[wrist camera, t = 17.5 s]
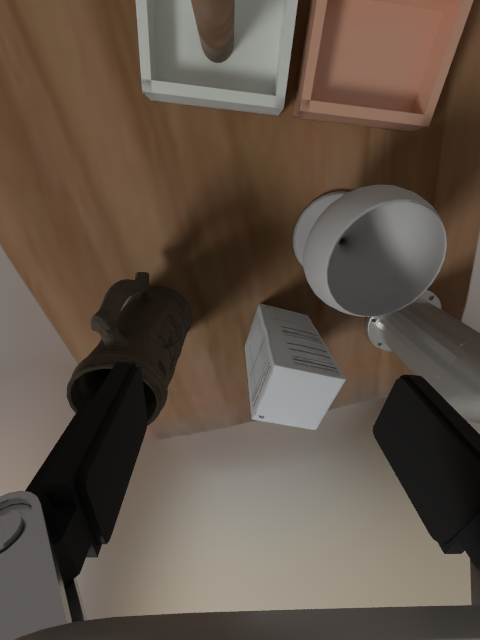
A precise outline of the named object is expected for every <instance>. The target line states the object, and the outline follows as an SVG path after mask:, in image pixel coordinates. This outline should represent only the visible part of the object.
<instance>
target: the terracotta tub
mask: <svg viewBox="0 0 480 640" xmlns="http://www.w3.org/2000/svg"><path fill="white" fill-rule="evenodd" d="M472 3H473V0H310V4H309V11H308V18H307V25H306V31H305V38H304V45H303V52H302V58H301V65H300V72H299V79H298V85H297V92H296V99H295V106H294V112H293V118H301V119H309V120H317V121H326V122H334V123H342V124H350V125H359V126H367V127H375V128H383V129H392V130H400V131H408V132H411V131H415V130H418V129H422V128H426V127H429V125H430V122H431V119H432V116H433V114H434V111H435V108H436V105H437V102H438V99H439V97H440V94H441V91H442V88H443V85H444V82H445V80H446V77H447V74H448V71H449V68H450V65H451V63H452V60H453V57H454V54H455V51H456V49H457V46H458V43H459V40H460V37H461V34H462V32H463V29H464V26H465V23H466V20H467V17H468V15H469V12H470V9H471V6H472Z"/></svg>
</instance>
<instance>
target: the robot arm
mask: <svg viewBox="0 0 480 640" xmlns="http://www.w3.org/2000/svg"><path fill="white" fill-rule="evenodd" d="M366 333H367V336H368V338H369V340H370V341H371V342H372V343H373V344H374V345H375V346H376V347H378V348H380V349H382V350H386V351H393V352H394V353H395V354H396V355H397V356H398V358H399V359H400V360H401V361H402V362H403V363H404V364H405V365H406V366H407V367H408V368H409V369H410V370H411V371H412V372H413V373H414V374H415V375H402V376H401V377H400V378H399V379H397V380H396V382H395V384H394V386H393V388H392V390H391V392H390V394H389V396H388V398H387V400H386V402H385V404H384V406H383V408H382V410H381V412H380V414H379V416H378V418H377V420H376V422H375V425H374V427H373V434H374V436H375V439H376V440H377V442H378V444H379V446H380V447H381V449H382V451H383V453H384V454H385V456H386V458H387V460H388V462H389V463H390V465H391V467H392V469H393V470H394V472H395V474H396V476H397V477H398V479H399V481H400V482H401V484H402V486H403V488H404V490H405V492H406V493H407V495H408V497H409V498H410V500H411V502H412V504H413V506H414V507H415V509H416V511H417V513H418V514H419V516H420V518H421V520H422V522H423V523H424V525H425V527H426V529H427V530H428V532H429V534H430V535H431V536H432V538H433V539H434V540H436V541H437V542H438V543H439V545H440V547H441V549H442V550H443V552H444V553H445V554H461V553H463V552H464V551H466V553H467V554H468V556H469V557H470V571H471V602H472V605H468V606H418V607H384V608H383V607H381V608H380V607H379V608H341V609H307V610H306V609H303V610H270V611H239V612H207V613H183V614H162V615H144V616H126V617H111V618H104V619H94V620H87V618H86V614H85V610H84V607H83V603H82V599H81V595H80V592H79V588H78V584H77V580H76V576H77V575H79V574H80V571H81V569H82V566H83V564H84V561H85V558H86V557H98V554H99V551H100V549H101V546H102V544H107V543H108V542H109V540H110V537H111V535H112V532H113V529H114V526H115V523H116V520H117V517H118V514H119V511H120V508H121V505H122V502H123V499H124V496H125V493H126V490H127V487H128V484H129V480H130V477H131V475H132V472H133V469H134V466H135V462H136V459H137V457H138V454H139V451H140V447H141V444H142V441H143V438H144V435H145V432H146V429H147V412H146V404H145V395H144V387H143V379H142V370H141V367H136V364H135V363H134V362H116V363H115V365H114V366H113V368H112V370H111V371H110V373H109V374H108V376H107V378H106V379H105V381H104V383H103V384H102V386H101V387H100V389H99V391H98V392H97V394H96V395H95V397H94V399H93V400H87V401H85V402H84V403H83V404H82V405H81V407H80V408H79V410H78V411H77V413H76V414H75V416H74V417H73V419H72V420H71V422H70V423H69V425H68V427H67V428H66V430H65V431H64V433H63V434H62V436H61V437H60V439H59V440H58V442H57V443H56V445H55V446H54V448H53V450H52V451H51V452H50V454H49V456H48V457H47V459H46V460H45V462H44V464H43V465H42V466H41V468H40V469H39V471H38V472H37V474H36V475H35V477H34V478H33V480H32V482H31V483H30V484H29V486H28V488H27V489H26V491H17V492H12V493H8V494H5V495H3V496H1V497H0V640H480V434H479V433H478V432H477V431H476V430H475V429H474V428H473V427H472V426H471V425H470V424H468V422H467V421H466V420H469V421H472V422H475V423H479V424H480V333H479V332H477V331H475V330H474V329H472V328H471V327H469V326H467V325H466V324H464V323H462V321H461V320H460V319H456V318H454V317H453V316H451V315H449V314H448V313H446V312H444V311H443V310H442V308H441V303H440V300H439V298H438V297H437V296H436V295H435V294H434V293H433V292H431V291H429V290H428V289H427V290H426V291H425V292H424V293H423V294H422V295H421V296H420V297H418V298H417V299H416V300H415V301H413V302H412V303H411V304H409V305H407V306H405V307H404V308H402V309H400V310H397V311H395V312H392V313H390V314H386V315H381V316H375V317H368V318H367V321H366ZM465 419H466V420H465Z"/></svg>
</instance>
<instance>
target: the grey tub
mask: <svg viewBox="0 0 480 640" xmlns="http://www.w3.org/2000/svg"><path fill="white" fill-rule="evenodd" d="M297 5H298V0H235V14H234V47H233V51H232V53H231V55H230V57H229V58H228V59H227V60H226V61H224V62H222V63H215V62H212V61H211V60H209V59H208V58H207V57H206V55H205V54H204V52H203V50H202V46H201V42H200V38H199V33H198V29H197V25H196V20H195V16H194V12H193V7H192V3H191V0H136V11H137V25H138V39H139V53H140V67H141V81H142V92H143V93H144V94H145V95H146V96H147V97H148V98H149V99H150V100H152V101H161V102H169V103H177V104H185V105H194V106H202V107H210V108H218V109H227V110H235V111H243V112H251V113H260V114H268V115H276V116H278V115H279V114H280V113H281V112H282V110H283V109H284V102H285V95H286V87H287V80H288V72H289V65H290V57H291V50H292V42H293V35H294V27H295V20H296V12H297Z"/></svg>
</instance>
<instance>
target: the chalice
mask: <svg viewBox="0 0 480 640" xmlns="http://www.w3.org/2000/svg"><path fill="white" fill-rule="evenodd" d="M446 247H447V243H446V231H445V228H444V225H443V222H442V220H441V218H440V216H439V215H438V213H437V212H436V211H435V209H434V208H433V206H432V205H431V204H430V203H428V202H427V201H426V200H424V199H423V198H422V197H420V196H419V195H418V194H416V193H414V192H412V191H409V190H406V189H403V188H400V187H397V186H394V185H371V186H366V187H361V188H358V189H355V190H353V191H351V192H347V191H335V192H330V193H327V194H325V195H322V196H320V197H319V198H317V199H315V200H314V201H312V202H311V203H310V204H309V205H308V206H307V207H306V208H305V209H304V211H303V212H302V214H301V215H300V217H299V218H298V221H297V223H296V225H295V228H294V233H293V249H294V253H295V256H296V258H297V260H298V262H299V263H300V264H301V265H302V266H303V267H304V272H305V276H306V279H307V282H308V283H309V285H310V287H311V288H312V290H313V291H314V293H315V294H316V295H317V296H318V297H319V298H320V299H321V300H322V301H323V302H324V303H326V304H327V305H329V306H331V307H333V308H335V309H337V310H338V311H340V312H343V313H346V314H350V315H354V316H361V317H375V316H381V315H386V314H390V313H392V312H395V311H397V310H400V309H402V308H404V307H405V306H407V305H409V304H411V303H412V302H413V301H415V300H416V299H417V298H418V297H420V296H421V295H422V294H423V293H424V292H425V291H426V290H427V288H428V287H429V286H430V285H431V284H432V283H433V281H434V279H435V278H436V276H437V275H438V273H439V271H440V269H441V266H442V264H443V261H444V258H445V253H446Z"/></svg>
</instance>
